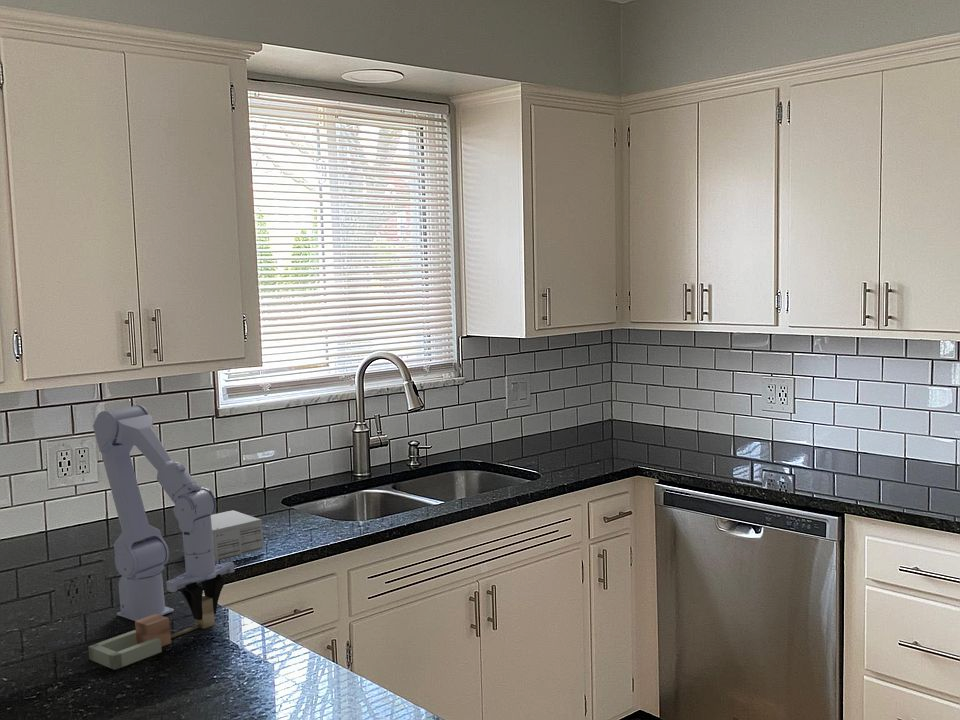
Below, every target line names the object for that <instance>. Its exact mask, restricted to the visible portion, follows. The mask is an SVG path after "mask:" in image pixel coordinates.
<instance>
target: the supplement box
mask: <svg viewBox="0 0 960 720" xmlns="http://www.w3.org/2000/svg"><path fill="white" fill-rule="evenodd" d="M211 523H212V535H213V546H214V558H215V561H219V560H222V559H227V558H231V557H236V556H240V555H243V554H246V553H251V552H255V551H259V550H262V549H264V536H263V524H262V523H263V521H262V519H261V518H258V517H254V516H252V515H249V514H246V513H242V512H240V511H237V510H228V511H227V510H226V511H223V512H218V513H213V514H212V515H211Z"/></svg>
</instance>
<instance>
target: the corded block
mask: <svg viewBox="0 0 960 720" xmlns="http://www.w3.org/2000/svg"><path fill="white" fill-rule="evenodd" d="M202 612H203V615H202V619H201V620H197V619H195V625H193V626H192V627H189V628H186V629H183V630H181V631H178V632H175V633H172V634H171V628H170V627H171V626H170V618H169V617H167V616H164V615H162V616H161V615H158V614H154V615H151V616H148V617H145V618H142V619H140V620H137V621H134V626H135V627H134V628H135V630H136V638H137V644H140V643H142V642H145V641H148V640H150V639H153V638H159V639H161V648H162V647H165V646H168V645H170V644H172V639H173V638H176V637H178V636H181V635H183V634H186V633H189V632H191V631H194V630H196V629H204V630H205V629H207V628H209V627H212V626H215V625H216V621H215V615H214V609H213V598H210V597H207V596H205V595H202Z"/></svg>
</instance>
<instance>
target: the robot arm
mask: <svg viewBox="0 0 960 720" xmlns="http://www.w3.org/2000/svg"><path fill="white" fill-rule="evenodd" d="M92 428H93V431H94V435H95V439H96V443H97V446H98V450H99V452H100V453H101V457H102V462H103V464H104V465H103V466H104V469H105V472H106V477H107V479H108V483H109V487H110V491H111V494H112V499H113V502H114V506H115V509H116V513H117V514H116V515H117V516H118V522H119V524H120V528H121V533H120V534H119V536H118V537H117V539H116V540H115V541H114V543H113V549H114V564H115V568H116V570H117V572H118V573H119V575H120V576H121V577H120V579H119V581H118V594H119V603H120V604H119V606H120V611H119V612H117V613H116V615H117V616H118V617H122V618H125V619H128V620H131V621H134V622H135V621H137V620H140V619H142V618H145V617H148V616H151V615H154V614H158V615H161V616H164V615H167V614H170V613H173V612H174V610H175V609H174V608H171V607H169V606H166V604H165V603H166V601H165V592H164V590H165V589H164V581H163V580H164V579H163V570H165V564H166V563H168V560H169V557H170V550H169V547H168V545H167V543H166V541H165V539H164V538H163V536H162V533H161V532H162V531H161V530H160V529H158V528H156V527H155V526H152V525H150V524H149V520H148V517H147V514H146V513H147V512H146V509H145V506H144V502H143V499H142V496H141V491H140V488H139V483H138V480H137V476H136V473H135V470H134V466H133V465H134V464H133V462H132V458H131V455H130V453H131V450H133V447H134V446H135V448H137V449H138V450H139V452H141V454H143V456H144V457H145V458H146V459H147V460H148V461H149V463H150V464H151V465H152V466H153V468H155V469H156V471H157V474H156V481H157V482H158V483H159V484H160V486H161V487H162V489H163V490H164V492H165V493H166V494H167V496H168V497H169V498H170V500H171V501H172V502H173V504H174V507H173V509H172V510H173V514H174V516H175V517H174V518H176V520H177V522H178V527H179V530H180V531H181V532H182V544H183V553H184V564H185V567H184V568H185V572H184V573H182V574H180V575H178V576H176V577H174V578H172V579H169V580H166V581H165V583H166V591H167V592H170V593H176V592H177V591H178V590H179V591H180V593H181V594H182V595H183V597H184V598H185V601H186V602H187V604H188V607H189V609H190V611H191V614H192V617H193V619H194V620H196V619H197V620H201V619H202V615H203V612H202V597H203V594H204V596H207V597H210V598H213V609H214V616H215V615H217V608H218V603H219V599H220V595H221V592H222V590H223V587H224V585H225V584H226V582H225V581H226V579H225V578H224V577H222V575H226V574H232V573H234V572H235V562H225V563H221V564H216V565H215V558H214V546H213V535H212V523H211V515H213V514H215V513H216V509H217V500H216V497H215V495H214V494H213V492H212V490H211V489H210V488H208V487H207V488H206V487H203V485H202V484H198V483H197V482H196V479H194V478H193V476H192V475H191V474H190V472H189V471H188V469H186V467H185V465H184V464H183V463H182V462H180V461H174V460H173V459H172V458H171V455H169V453H168V451H167V450H166V448H165V446H164V445H163V444H162V442H161V440H160V439H159V437H158V436H157V433H156V432H155V431H154V419H153V417H152V416H151V415H150V413H149V410H148V409H147V408H146V407H145V406H143V405H141V404H135V405H133V406H128V407H123V408H117V409H112V410H110V409H109V410H102V411H100V412H99V413H98V414H97V415H96V418H95V420H94V423H93V425H92ZM142 540H143V541H142ZM140 541H141V542H140ZM136 542H137V543H136ZM199 583H201V586H202V587H200V586H199Z"/></svg>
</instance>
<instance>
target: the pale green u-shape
mask: <svg viewBox="0 0 960 720" xmlns="http://www.w3.org/2000/svg"><path fill="white" fill-rule="evenodd" d="M162 650H163V649H162V647H161V639H159V638H153V639H150V640H148V641H145V642H142V643H140V644H137V638H136V629H133V630H130V631H128V632H126V633H125V632H124V633H122V634H118V635H116V636H113V637H111V638H108V639H105V640H102V641H100V642H97V643H94V644H92V645H89V646H88V657H89V660H90V661H92V662H95V663H97V664H99V665H101V666H104V667H107V668H109V669H111V670H113V671H114V670H119V669H120V668H124V667H126V666H128V665H131V664H134V663H136V662H139V661H142V660H144V659H146V658H150V657H152V656H155V655H157V654H160V653H162V652H163V651H162Z"/></svg>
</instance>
